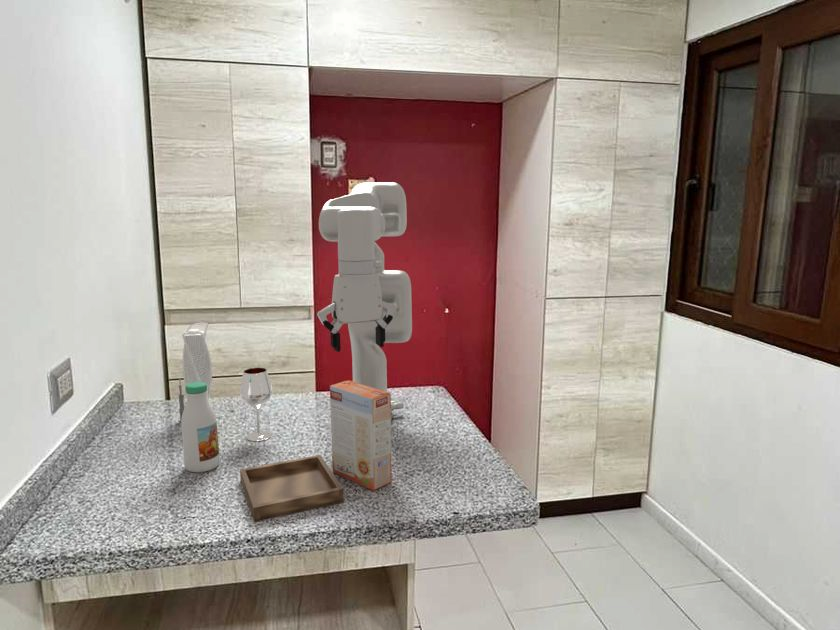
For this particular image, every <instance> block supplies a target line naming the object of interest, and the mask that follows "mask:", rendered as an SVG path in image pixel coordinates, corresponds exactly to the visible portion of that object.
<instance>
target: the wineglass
mask: <svg viewBox="0 0 840 630" xmlns="http://www.w3.org/2000/svg"><path fill="white" fill-rule="evenodd" d="M267 369H268V368H265V367H250V368H247V369H245V370H243V372H242V377H241V381H240V388H239V395H240V399H242V401H243V402H244V403H245V404H247V405H249V406H250V407H251V408H252V409H254V411H255V416H256V431H254V432H251V433H250V432H249V433H248V434H247V435H246V436H245V438H246V440H247V441H250V442H263V441H266V440H269V439H271V437H272V433H271V432H269V431H267V430H261V420H260V417H261V416H260V410H261V408H263V407H264V405H266V404H267V403H268V402H269V401H270V399H271V398H272V396H273V393H274V390H273V386H272V385H273V384H272V381H271V378H270V376H269V373H268V370H267Z"/></svg>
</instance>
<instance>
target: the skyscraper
mask: <svg viewBox="0 0 840 630" xmlns="http://www.w3.org/2000/svg"><path fill="white" fill-rule="evenodd" d="M197 325H205V328H204V330H200V329H199V328H192V327H194V326H197ZM208 326H209V323H208V322H206V321H202V322H201V321H199V322H194V323H192V324H191V325H189V327H188V328H187V330H186V332H184V333H183V334H182V336H181V337H182V340H183V342H184V343H183V352H182V377H183V383H184V387H185V386H186V385H187V384H189V383H193V382H205V383H206V384H207V393H206V395H207V399H208V401H209V402H210V395H211V391H212V382H213V381H212V380H213V369H212V368H213V367H212V366H213V365H212V360H211V355H210V351H209V349H208V345H207V342H206V340H205V339H206V335H207V331H208ZM191 328H192V329H191ZM181 379H182V378H179V379H178V381H179V384H178V388H179V393H178V403H179V409H178V410H179V419H180V420H178V422H179V423H181V419H182V414H183V411H184V408H185V406H186V403H185V393H184V392H183V384H182V382H181V381H182V380H181Z"/></svg>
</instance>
